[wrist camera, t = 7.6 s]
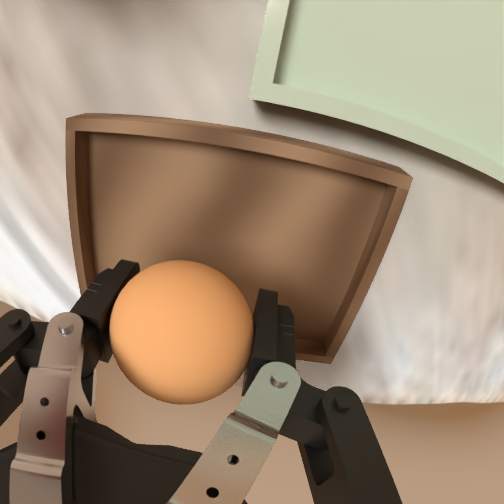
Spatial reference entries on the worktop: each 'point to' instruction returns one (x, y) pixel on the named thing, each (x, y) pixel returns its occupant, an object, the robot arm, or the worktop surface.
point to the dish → (393, 69)
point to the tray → (235, 212)
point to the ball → (181, 332)
